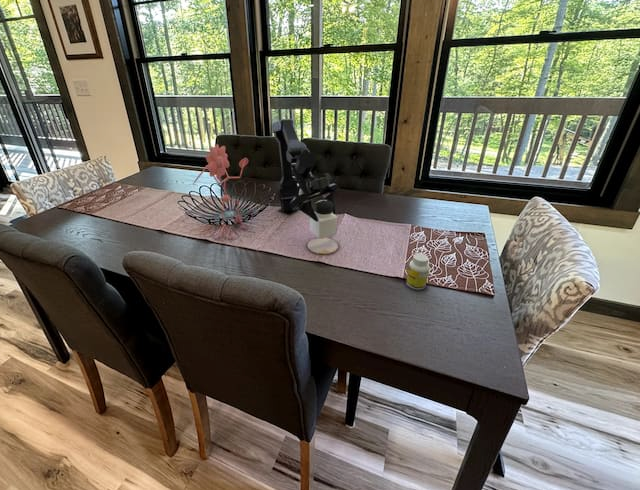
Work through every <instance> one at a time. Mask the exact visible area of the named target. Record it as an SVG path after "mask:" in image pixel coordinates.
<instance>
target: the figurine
mask: <svg viewBox="0 0 640 490" xmlns="http://www.w3.org/2000/svg"><path fill="white" fill-rule="evenodd" d="M226 148H227V147H226V145H222V146H221V147H220V146H219V144H218V143H216V144H215V145H214V146H210V149H209V152H210V154H206V155H205V161H206V163H208V164H207V165H205V167H204V168H203V169H202V171H200V173H199V174H198V176H196V177H195V180H194V181H193V184H195V183H196V182H197V181H198V180H199V178H200V177H201V176H202V174H203V173H204V172H205V171H206V170H207V171H209V177H210V178H212V177H213V179H214V180H215V182H216V183H217V185H218V186H220V185H221V184H223V196H222V197H221V198H222V209H221V216H222V228H221V230H220V232H219V234H218V236H217V238H219V237H220V236H221V235H222V233H223V231H224V230H225V232H226V234H227V236H228V237H229V239H230V240H232V237H231V235H230V233H229V230H228V228H227V227H226V225H227V223H225V221H224V207H225V206H224V205H225V203H228V202H230V200H232V201H237V216H236V217H235V218H234V220H233V223H234V224H235V225H237V224H238V223H239V222H240V224H241V226H242V228H243V230H246V226H245V225H244V223H243V221H242V216H243V215H242V214H240V213H239V212H240V209H239V208H240V207H239V206H240V205H239V201H240V200H239V199H237V198H230V196H229V195H227V194H226V182H227V181H228V180H230V179H241V178H242V174H243V171H244V168H245V167H246V166H248V164H249V158H247V157H244V158H242V159H241V160H240V161H239V163H238V167H240V168H241V170H240V173H239V176H229V174H228V171H227V169H229V167H230V166H231V165H230V161H229V160H228V158H229V157H228V153H226ZM225 175H226V177H225V178H224V179H223V180H221V181H219V180H220V179H221V177H222V176H225ZM220 223H221V221H219V222H217V223H214V224H213V225H209V226H208V229H209V228H211V227H212V226H215V225H216V224H220ZM206 231H207V230H205V231H204V232H203V234H205V233H206Z"/></svg>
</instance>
